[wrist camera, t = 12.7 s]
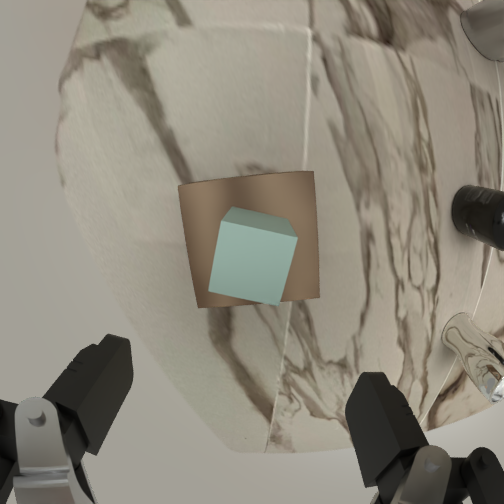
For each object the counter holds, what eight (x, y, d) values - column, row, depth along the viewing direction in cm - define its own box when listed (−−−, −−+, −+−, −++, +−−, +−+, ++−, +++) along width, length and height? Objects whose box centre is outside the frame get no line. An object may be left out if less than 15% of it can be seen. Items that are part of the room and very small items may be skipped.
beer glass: (443, 354, 36) (488, 413, 22) (435, 328, 34) (489, 389, 20) (473, 330, 35) (523, 380, 20) (468, 301, 33) (527, 351, 19)
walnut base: (302, 170, 29) (313, 171, 24) (309, 275, 33) (319, 297, 27) (192, 182, 30) (177, 185, 24) (207, 284, 33) (198, 308, 28)
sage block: (287, 218, 25) (297, 237, 18) (274, 271, 26) (278, 306, 19) (232, 206, 25) (221, 220, 18) (221, 259, 26) (208, 291, 19)
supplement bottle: (449, 235, 30) (509, 264, 19) (451, 183, 28) (516, 196, 17) (481, 233, 30) (538, 258, 19) (483, 185, 28) (544, 199, 17)
